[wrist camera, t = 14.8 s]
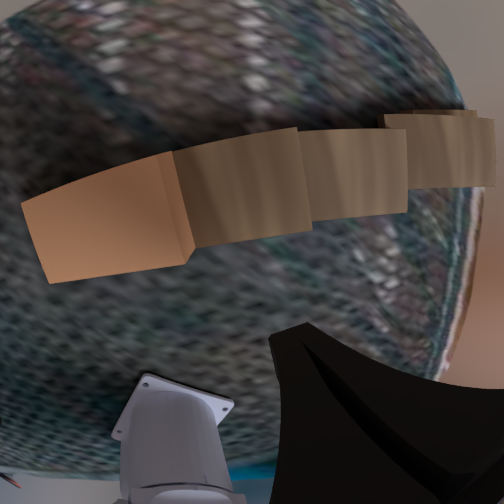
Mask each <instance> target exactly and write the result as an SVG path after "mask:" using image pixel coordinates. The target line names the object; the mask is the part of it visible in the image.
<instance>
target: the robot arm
mask: <svg viewBox="0 0 504 504" xmlns="http://www.w3.org/2000/svg"><path fill="white" fill-rule="evenodd" d="M268 340H269V344H270V349H271V353H272V358H273V362H274V367H275V371H276V375H277V379H278V381H279V384H280V397H281V426H280V441H279V451H278V460H277V467H276V473H275V478H274V483H273V488H272V494H271V498H270V502H269V504H501V503H502V502H503V501H504V389H481V388H471V387H462V386H456V385H450V384H446V383H441V382H436V381H432V380H428V379H424V378H421V377H417V376H414V375H411V374H408V373H405V372H402V371H399V370H396V369H394V368H391V367H389V366H386V365H384V364H382V363H380V362H377V361H375V360H373V359H371V358H369V357H367V356H365V355H363V354H361V353H359V352H357V351H355V350H353V349H351V348H350V347H348V346H346V345H344V344H342V343H341V342H339V341H337V340H336V339H334V338H332V337H331V336H329V335H327V334H326V333H324V332H323V331H321V330H319V329H318V328H316V327H315V326H313V325H311V324H310V323H308V322H306V323H303V324H301V325H298V326H295V327H292V328H289V329H286V330H283V331H280V332H277V333H274V334H271V335H270V337H269V338H268ZM144 383H148V384H144ZM233 406H234V402H233V400H231V399H228V398H224V397H220V396H217V395H213V394H210V393H207V392H203V391H200V390H197V389H194V388H190V387H187V386H184V385H181V384H178V383H175V382H172V381H169V380H167V379H164V378H161V377H158V376H155V375H153V374H150V373H145V374H143V375H142V377H141V379H140V381H139V383H138V384H137V386H136V388H135V390H134V392H133V394H132V395H131V397H130V399H129V401H128V403H127V405H126V406H125V408H124V410H123V412H122V414H121V416H120V418H119V420H118V421H117V423H116V425H115V427H114V429H113V431H112V434H111V436H112V438H114V439H116V440H119V441H121V455H120V491H121V495H122V498H123V499H118V500H117V502H115V503H113V504H247V502H246V499H245V496H244V494H234V492H233V488H232V484H231V480H230V477H229V473H228V469H227V465H226V462H225V458H224V454H223V450H222V446H221V442H220V437H219V433H218V429H217V425H218V424H219V423H220V422H221V421H222V419H223V418H224V417H225V416H226V415H227V413H228V412H229V411H230V410H231V409H232V408H233ZM225 407H226V408H225Z"/></svg>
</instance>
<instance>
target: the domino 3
mask: <svg viewBox="0 0 504 504" xmlns="http://www.w3.org/2000/svg"><path fill="white" fill-rule="evenodd" d="M298 137H299V143H300V149H301V155H302V161H303V167H304V173H305V180H306V186H307V193H308V200H309V207H310V214H311V222H312V221H321V220H331V219H341V218H351V217H361V216H371V215H382V214H393V213H404V212H407V198H408V172H407V143H406V129H388V128H364V129H329V130H311V131H298Z"/></svg>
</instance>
